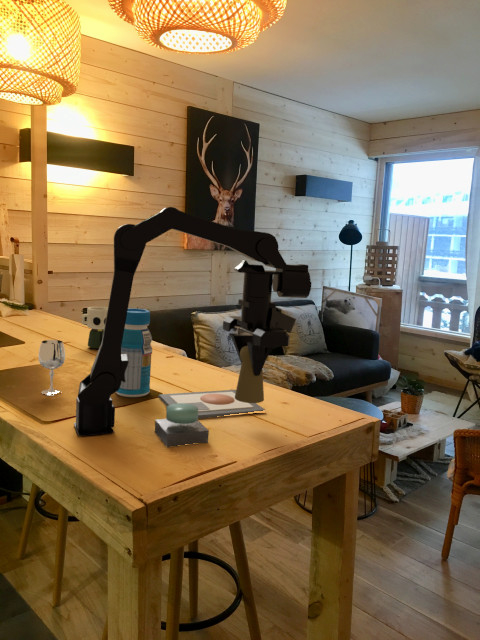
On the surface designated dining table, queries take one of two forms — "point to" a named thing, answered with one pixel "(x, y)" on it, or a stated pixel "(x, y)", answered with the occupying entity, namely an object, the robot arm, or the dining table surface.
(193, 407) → the button
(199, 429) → the button housing
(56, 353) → the wineglass
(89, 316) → the character mug
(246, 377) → the brown tapered upright piece
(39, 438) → the dining table surface
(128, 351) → the beverage bottle
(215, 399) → the drawing board
